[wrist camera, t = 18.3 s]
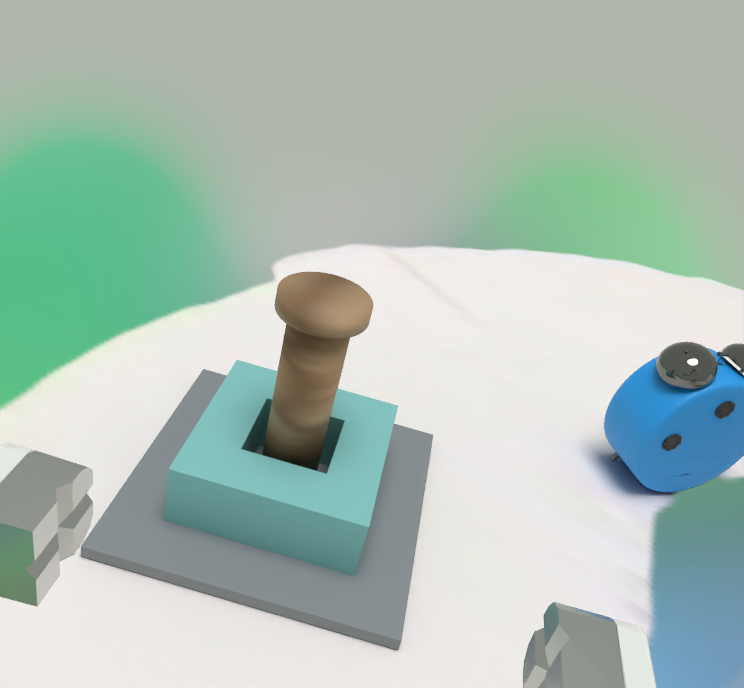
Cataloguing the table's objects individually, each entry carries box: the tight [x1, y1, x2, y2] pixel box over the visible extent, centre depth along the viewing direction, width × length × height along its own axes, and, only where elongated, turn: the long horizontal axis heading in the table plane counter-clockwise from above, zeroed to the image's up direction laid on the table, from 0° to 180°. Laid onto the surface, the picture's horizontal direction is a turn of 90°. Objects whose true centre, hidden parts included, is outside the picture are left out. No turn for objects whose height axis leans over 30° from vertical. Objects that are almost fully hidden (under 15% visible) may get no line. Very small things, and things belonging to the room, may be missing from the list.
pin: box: [262, 272, 373, 471], centre depth 51 cm, size 6×6×17 cm
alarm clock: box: [604, 342, 744, 492], centre depth 65 cm, size 13×6×15 cm, turn 106°
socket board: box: [81, 360, 433, 650], centre depth 55 cm, size 22×22×6 cm
